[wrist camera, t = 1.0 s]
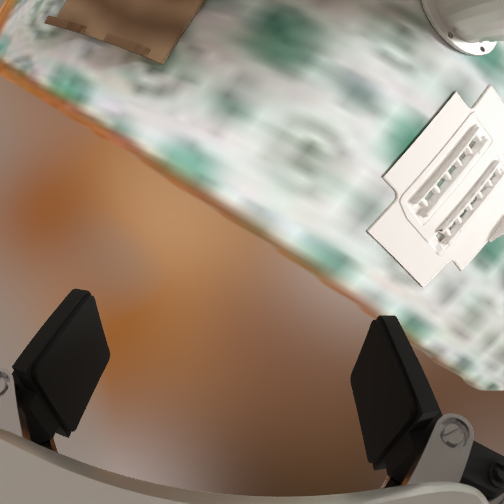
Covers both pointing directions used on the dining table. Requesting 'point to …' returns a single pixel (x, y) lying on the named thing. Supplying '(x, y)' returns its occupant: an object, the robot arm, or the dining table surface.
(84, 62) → the dining table surface
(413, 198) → the tray
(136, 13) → the rack
